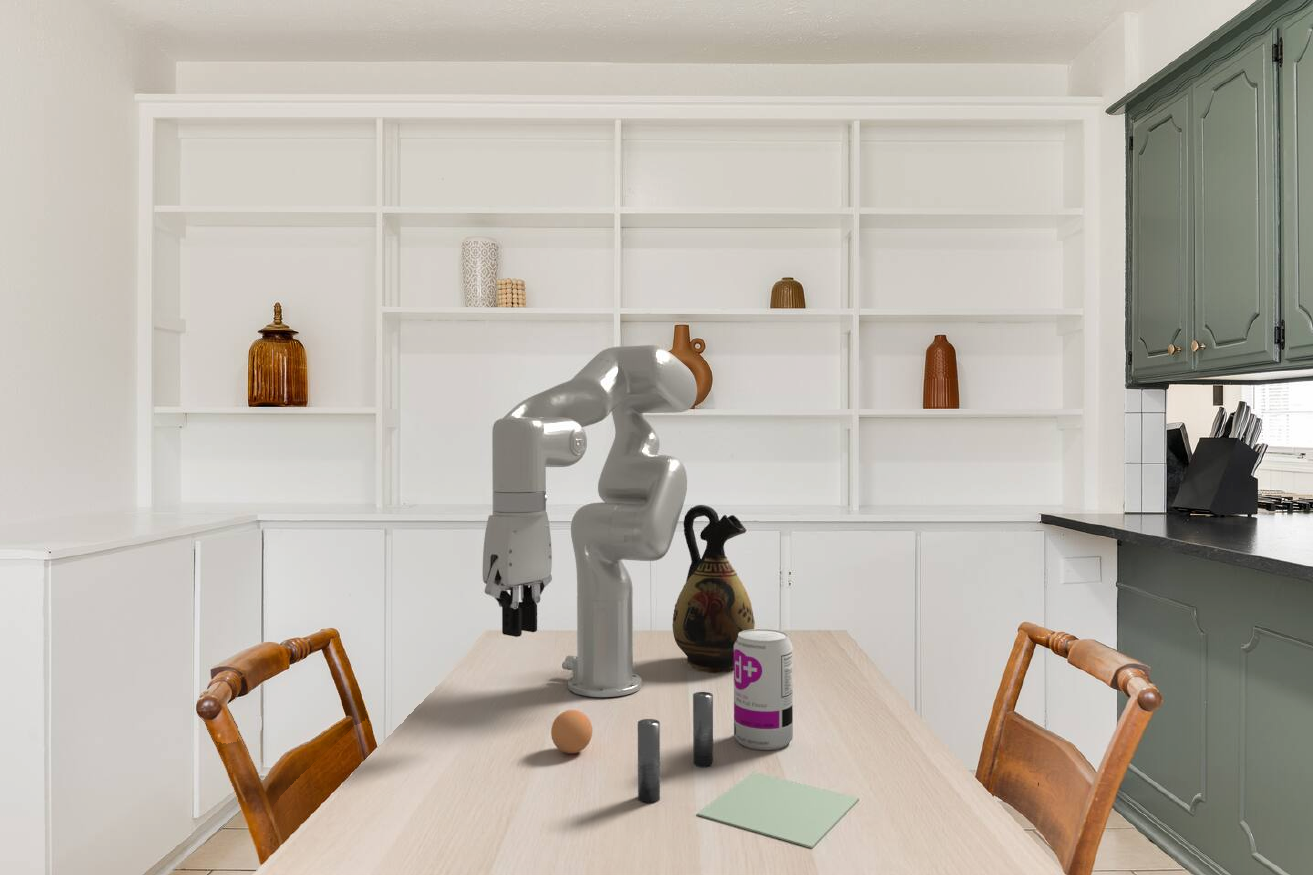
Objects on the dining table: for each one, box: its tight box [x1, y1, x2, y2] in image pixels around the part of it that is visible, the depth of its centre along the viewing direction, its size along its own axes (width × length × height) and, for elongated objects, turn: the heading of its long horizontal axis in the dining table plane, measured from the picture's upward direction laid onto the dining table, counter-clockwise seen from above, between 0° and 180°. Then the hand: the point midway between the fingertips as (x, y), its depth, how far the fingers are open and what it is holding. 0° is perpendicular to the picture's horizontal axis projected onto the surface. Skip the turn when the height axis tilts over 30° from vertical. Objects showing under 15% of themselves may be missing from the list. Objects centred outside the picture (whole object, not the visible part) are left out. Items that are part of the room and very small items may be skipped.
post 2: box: [692, 691, 714, 768], centre depth 110 cm, size 3×3×9 cm
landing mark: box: [696, 771, 860, 849], centre depth 97 cm, size 14×14×1 cm
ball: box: [550, 709, 593, 754], centre depth 114 cm, size 6×6×6 cm
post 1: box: [637, 718, 661, 804], centre depth 99 cm, size 3×3×9 cm
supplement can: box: [733, 628, 794, 751], centre depth 118 cm, size 8×8×15 cm
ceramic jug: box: [672, 504, 756, 674], centre depth 157 cm, size 17×15×30 cm
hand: (519, 631), depth 119 cm, fingers open, 2 cm apart
